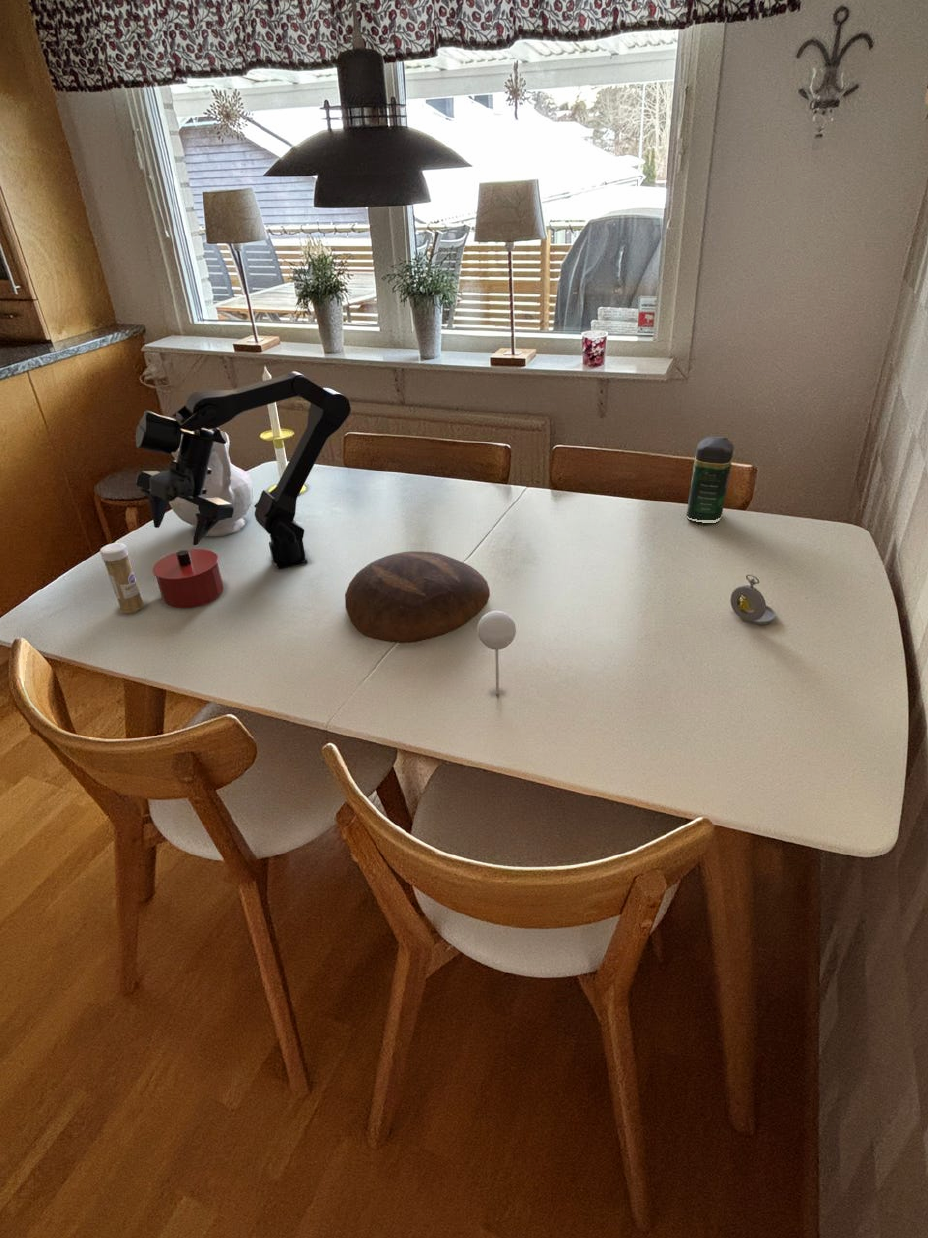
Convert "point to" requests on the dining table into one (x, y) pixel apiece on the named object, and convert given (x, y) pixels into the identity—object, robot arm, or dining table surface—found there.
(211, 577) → the pot
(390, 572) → the bread
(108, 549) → the sprinkles bottle
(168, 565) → the pot lid
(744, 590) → the pocket watch
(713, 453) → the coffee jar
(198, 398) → the robot arm
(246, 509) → the ceramic pitcher
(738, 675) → the dining table surface
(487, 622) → the lollipop
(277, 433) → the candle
